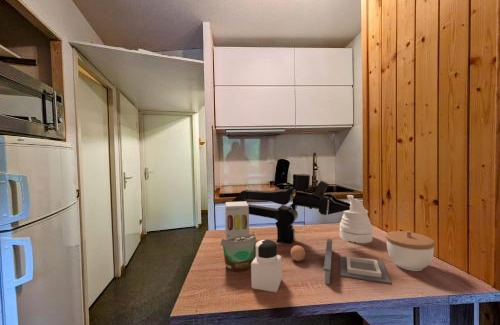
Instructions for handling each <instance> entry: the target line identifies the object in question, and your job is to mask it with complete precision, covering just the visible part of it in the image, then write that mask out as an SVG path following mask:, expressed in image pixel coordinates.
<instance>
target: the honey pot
mask: <svg viewBox="0 0 500 325" xmlns="http://www.w3.org/2000/svg"><path fill="white" fill-rule="evenodd" d="M346 197H347V200H349V202H348V203H350V210H347V211H342V212H343V214H342V216H341V220H340V222H339V237H340V239H342V240H344V241H346V242H349V241H351V242H350V243H354V242H356V244H369V243H371V242H372V241H373V226H372V223H371V221H370V220H371V219H370V218H369V216H368V213H369V211H368V210H367V209H366V208H365V207H364V205H363V204H362V201H360V200H359V199H357V198H354V195H352V194H348V195H347V194H346Z"/></svg>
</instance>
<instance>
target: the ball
mask: <svg viewBox="0 0 500 325" xmlns="http://www.w3.org/2000/svg"><path fill="white" fill-rule="evenodd" d="M290 256H291V258H292V259H293V260H294V261H296V262H301V261H303V260H304V259H305V257H306V251H305V249H304V247H303V246H301V245H293V247H291V249H290Z"/></svg>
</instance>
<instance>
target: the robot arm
mask: <svg viewBox="0 0 500 325" xmlns="http://www.w3.org/2000/svg"><path fill="white" fill-rule="evenodd" d="M310 180H311V175H310V174H307V173H299V174H298V173H297V174H296V173H293V174H292V186H291V187H289V188H284V189H278V190H269V191H268V190H251V189H244V190H241V191H240V192H239V194H238V195H237V196H236V197H235V198H233V199H232V200H231V201H230V202H244V201H246V202H247V201H248V200H252V201H265V202H266V201H267V202H269V201H270V202H272V203H275V204H277V205H280V206H279V207H277V208H274V207H268V206H261V205H256V204H249V203H247V204H248V206H249V215H251V216H257V217H263V218H269V219H274V220H275V221H276V222H275V226H276V230H277V231H276V232H277V236H276V238H277V239H276V243H286V244H293V241H295V239H296V238H295V235H296V234H295V233H296V232H295V229H294V223H295V222H296V221H297V219H298V218H299V213H298V211H297V209H298V207H303V208H307V209H310V210H312V209H316V210H318V213H319V214H320V215H323V216H327V215H333V214H336V213H342V212H343V211H347V210H350V203H349V202H347V201H344V200H341V199H338V198H336V196H335V194H333V193H329V192H328V193H326V191H327V188H328V187H329V186H330V184H329V182H326V181H323V180H320V182H318V183H317V185H316V189H315V192H312V193H310V192H307V190H310V182H311V181H310ZM325 193H326V194H325ZM289 203H291V204H290V206H287V205H288V204H289Z"/></svg>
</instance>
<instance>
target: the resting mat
mask: <svg viewBox="0 0 500 325" xmlns="http://www.w3.org/2000/svg"><path fill="white" fill-rule="evenodd" d="M339 263H340V264H339V268H340V269H339V270H340V272H339V275H340V277H343V278H350V279H356V280H361V281H362V280H363V281H369V282H375V283H376V282H377V283H381V284H388V285H391V284H392V282H391V279H390V276H389V275H388V271H387V269H386V267H385V264H384V262H383V261H379V260H377V259H372V258H363V257H362V258H361V257H355V256H347V255H346V256H340V257H339Z"/></svg>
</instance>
